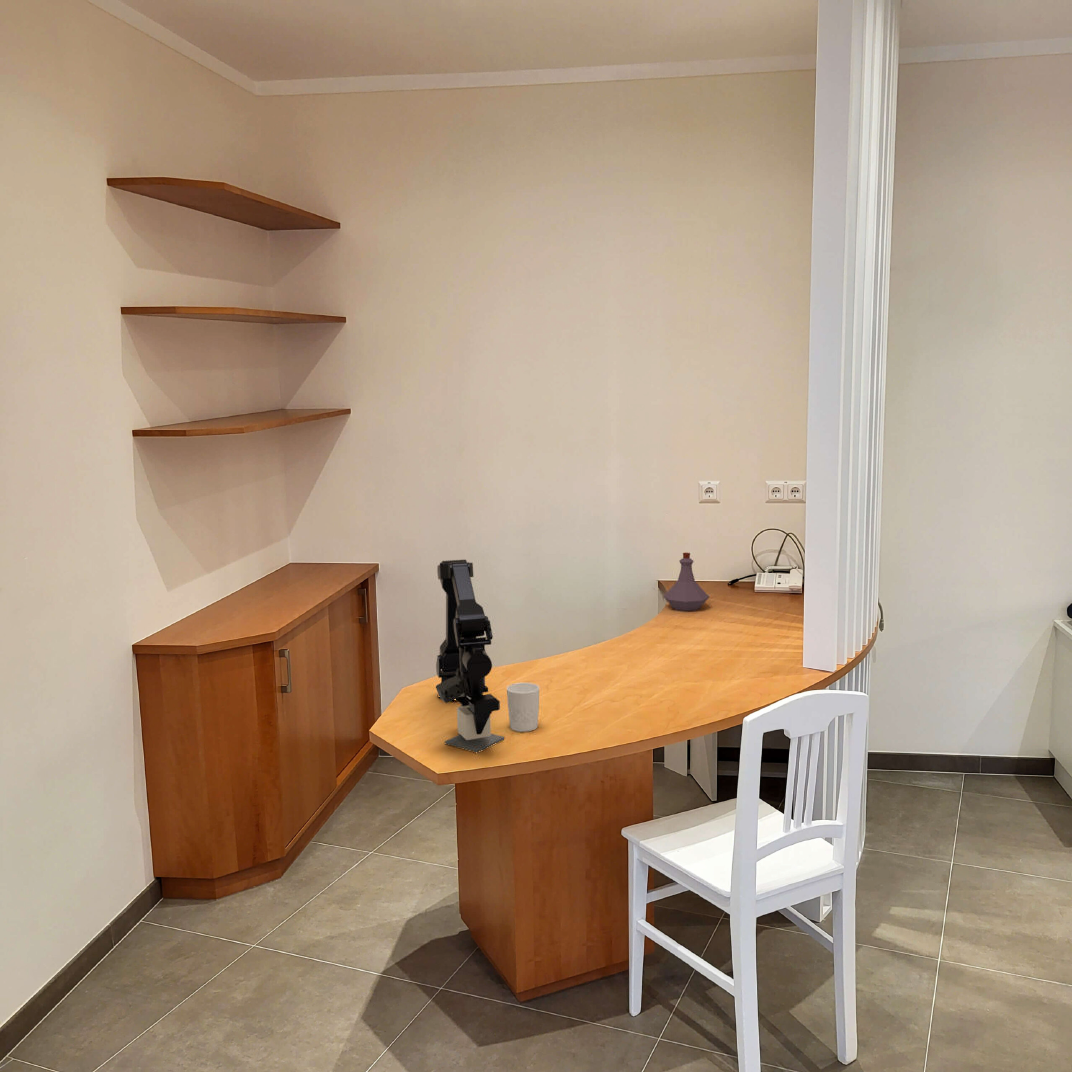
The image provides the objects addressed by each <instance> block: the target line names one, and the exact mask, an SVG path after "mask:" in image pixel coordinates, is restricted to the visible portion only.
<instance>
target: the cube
mask: <svg viewBox="0 0 1072 1072" xmlns="http://www.w3.org/2000/svg"><path fill="white" fill-rule="evenodd" d="M467 708H470V707H469V705H468V706H462V707H461V706H457V707H456V721H457V723H456V724H457V728H456V729H457V733H459V734H461V735H462V736H463V737H464V738H465V739H466V740H471V739H476V738H482V737H487V736H491V734H492V731H491V729H492V727H491V716H490V717H489V718H488V721H487V723H486V725H485V727H484V729H483V731H482V734H477V733H476V729H475V723H474V718H473V714H472V713H471V712H470V711H469V710H468V709H467Z"/></svg>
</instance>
